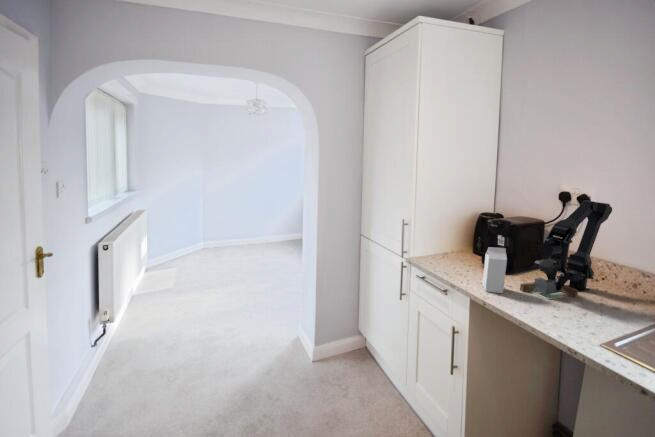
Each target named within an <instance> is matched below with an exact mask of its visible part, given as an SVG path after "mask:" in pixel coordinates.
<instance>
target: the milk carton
mask: <svg viewBox="0 0 655 437" xmlns="http://www.w3.org/2000/svg"><path fill="white" fill-rule="evenodd" d="M506 250H507V248H505V247H492V246H491V247H490V246H488V247H487V250H486V252H485V254H484V255H485V256H484V266H483V275H482V288H483V289H484V291H485V292H486V293H496V292H497V293H498V294H499V293H500V294H503V293H504V288H505V279H506V272H507V263H508V257H507V251H506Z"/></svg>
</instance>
